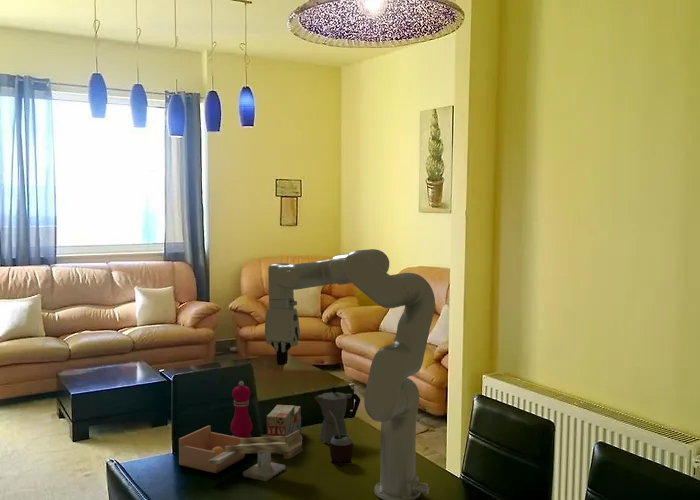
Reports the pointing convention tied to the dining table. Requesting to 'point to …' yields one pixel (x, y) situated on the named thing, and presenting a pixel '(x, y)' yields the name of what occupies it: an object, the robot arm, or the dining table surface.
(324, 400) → the coffeepot
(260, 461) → the pivot stand
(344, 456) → the mate gourd
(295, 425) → the stack of blocks
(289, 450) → the tray
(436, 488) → the dining table surface
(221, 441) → the pink open box
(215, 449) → the ball
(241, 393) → the pepper mill
